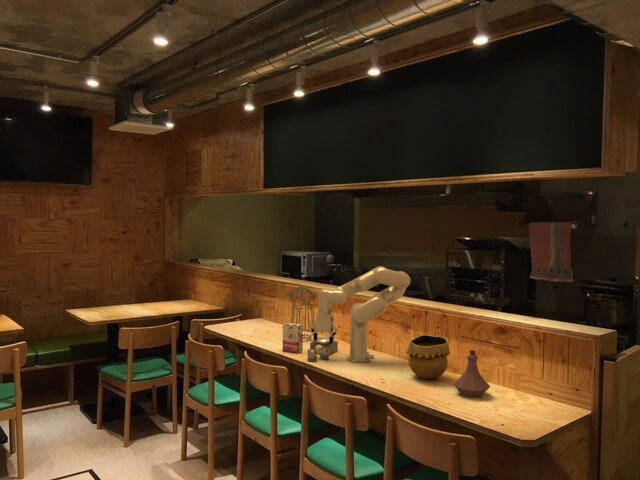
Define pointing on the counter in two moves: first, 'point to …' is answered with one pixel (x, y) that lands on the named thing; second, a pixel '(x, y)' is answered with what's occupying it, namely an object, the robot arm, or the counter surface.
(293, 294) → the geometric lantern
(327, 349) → the disc
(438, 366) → the clay pot
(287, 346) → the candy bar box
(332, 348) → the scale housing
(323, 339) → the pan
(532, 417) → the counter surface
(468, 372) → the flask
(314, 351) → the cylinder
